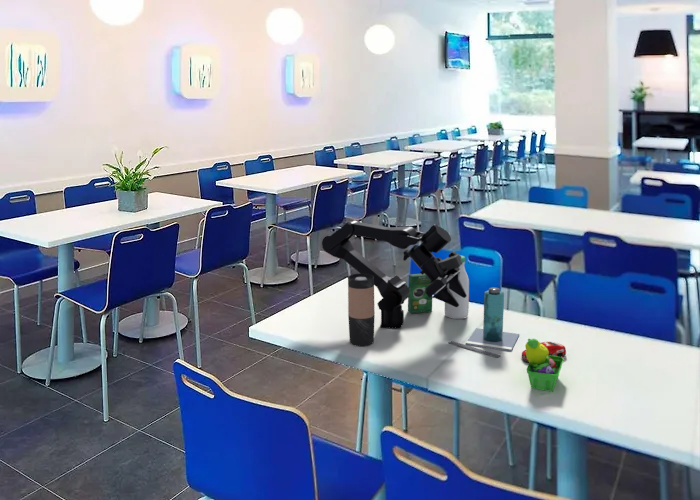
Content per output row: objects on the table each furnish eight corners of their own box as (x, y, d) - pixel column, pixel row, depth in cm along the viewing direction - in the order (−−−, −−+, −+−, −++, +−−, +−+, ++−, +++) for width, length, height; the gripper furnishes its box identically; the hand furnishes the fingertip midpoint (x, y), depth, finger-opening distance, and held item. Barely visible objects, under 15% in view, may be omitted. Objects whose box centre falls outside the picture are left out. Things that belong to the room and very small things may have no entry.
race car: (529, 366, 164) (530, 352, 163) (516, 358, 169) (517, 345, 168) (569, 357, 168) (570, 344, 167) (556, 350, 173) (556, 337, 172)
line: (448, 343, 179) (448, 342, 179) (451, 341, 180) (451, 340, 180) (497, 357, 168) (497, 356, 168) (500, 356, 170) (500, 355, 169)
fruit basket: (557, 395, 147) (560, 351, 144) (519, 388, 151) (522, 345, 148) (562, 375, 157) (565, 334, 154) (527, 370, 161) (529, 329, 158)
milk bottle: (468, 320, 197) (470, 260, 193) (443, 318, 199) (445, 259, 194) (468, 312, 205) (470, 254, 200) (445, 310, 206) (446, 253, 202)
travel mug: (378, 339, 183) (378, 274, 178) (368, 348, 176) (367, 281, 171) (355, 335, 186) (354, 272, 181) (344, 344, 179) (343, 279, 174)
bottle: (490, 343, 177) (492, 293, 174) (479, 336, 182) (480, 288, 179) (506, 340, 180) (508, 290, 176) (494, 333, 185) (496, 285, 181)
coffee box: (429, 308, 209) (429, 271, 205) (433, 311, 206) (433, 274, 203) (407, 311, 206) (407, 274, 203) (410, 314, 204) (411, 276, 200)
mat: (465, 344, 178) (465, 342, 178) (476, 329, 189) (476, 327, 189) (511, 351, 173) (511, 349, 173) (519, 335, 184) (519, 333, 184)
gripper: (437, 252, 172) (474, 294, 170) (454, 238, 188) (488, 276, 187) (409, 276, 177) (446, 317, 175) (428, 260, 193) (462, 298, 192)
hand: (461, 301), depth 182 cm, fingers open, 9 cm apart
